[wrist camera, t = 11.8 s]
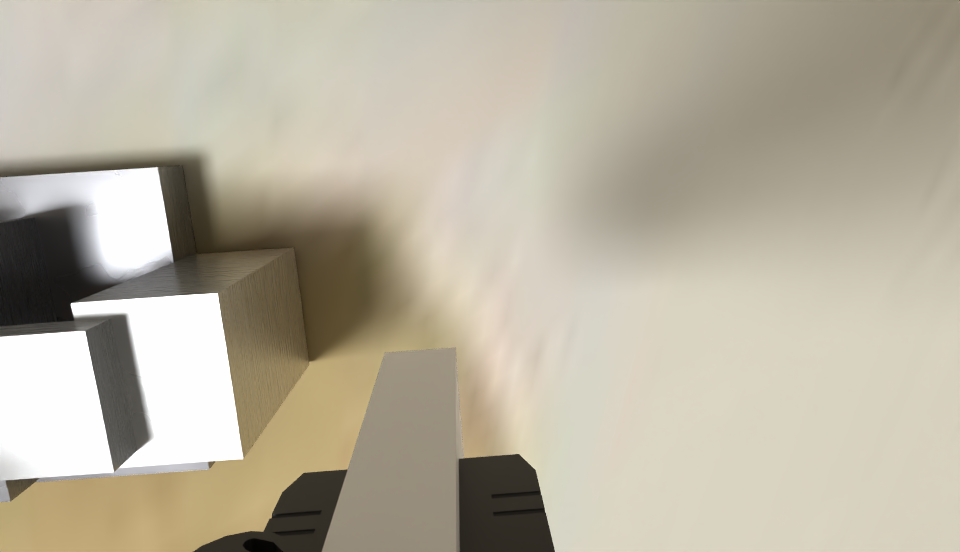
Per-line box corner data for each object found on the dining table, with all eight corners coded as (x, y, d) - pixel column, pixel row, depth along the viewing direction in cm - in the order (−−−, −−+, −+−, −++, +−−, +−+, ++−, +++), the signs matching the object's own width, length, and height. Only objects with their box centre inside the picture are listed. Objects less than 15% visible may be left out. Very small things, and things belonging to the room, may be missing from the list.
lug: (94, 260, 24) (-119, 325, 15) (294, 247, 24) (198, 304, 16) (117, 378, 25) (-69, 502, 16) (309, 364, 25) (227, 481, 17)
